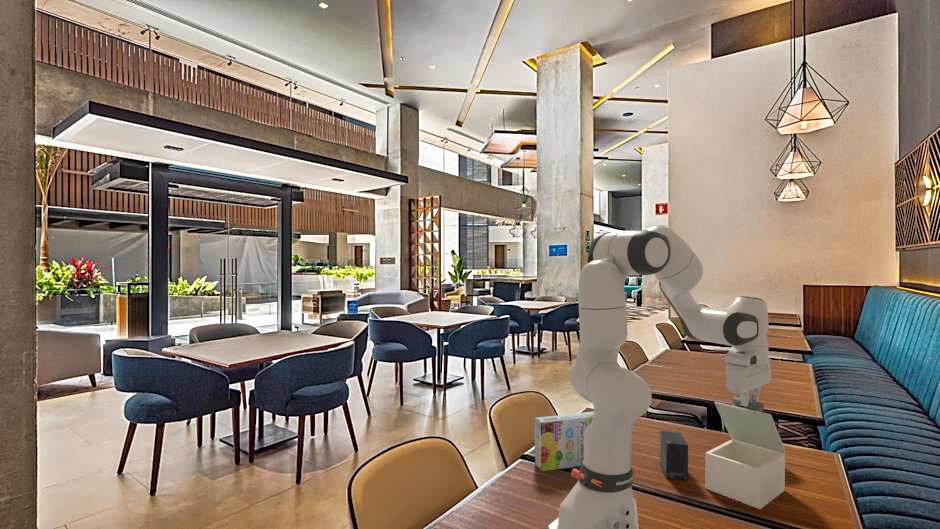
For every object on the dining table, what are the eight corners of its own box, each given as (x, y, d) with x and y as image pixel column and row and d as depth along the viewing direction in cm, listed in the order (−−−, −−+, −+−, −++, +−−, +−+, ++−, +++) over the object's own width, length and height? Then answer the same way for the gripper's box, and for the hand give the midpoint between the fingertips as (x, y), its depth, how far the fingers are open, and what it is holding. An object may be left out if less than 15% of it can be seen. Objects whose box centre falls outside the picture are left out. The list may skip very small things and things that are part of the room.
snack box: (595, 456, 154) (594, 410, 154) (604, 464, 149) (604, 416, 149) (534, 464, 149) (533, 416, 149) (541, 472, 144) (541, 422, 143)
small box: (689, 480, 138) (689, 444, 137) (665, 478, 139) (665, 443, 139) (681, 465, 148) (681, 431, 148) (658, 463, 149) (658, 430, 149)
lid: (770, 416, 125) (776, 401, 127) (714, 402, 136) (720, 390, 138) (785, 454, 131) (790, 440, 133) (730, 438, 142) (736, 425, 145)
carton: (759, 509, 122) (760, 470, 122) (705, 488, 133) (705, 452, 133) (784, 490, 131) (785, 454, 131) (731, 472, 143) (731, 439, 142)
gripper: (753, 348, 142) (753, 394, 142) (721, 357, 130) (721, 407, 130) (777, 351, 137) (777, 399, 137) (745, 360, 125) (745, 413, 125)
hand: (749, 403), depth 134 cm, fingers open, 4 cm apart
